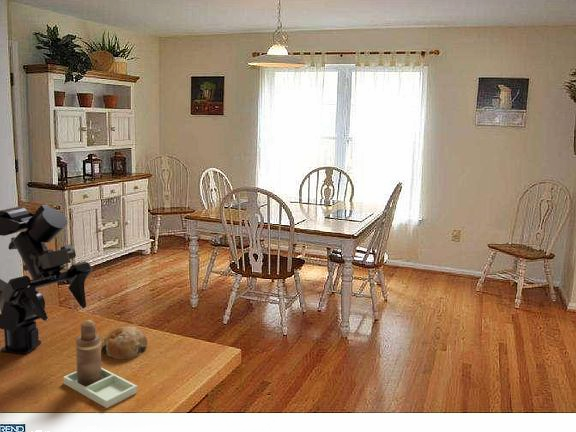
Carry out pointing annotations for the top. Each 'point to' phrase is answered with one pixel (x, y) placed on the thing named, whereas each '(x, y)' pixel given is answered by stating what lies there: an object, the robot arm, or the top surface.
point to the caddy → (103, 388)
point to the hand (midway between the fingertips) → (66, 313)
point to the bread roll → (124, 343)
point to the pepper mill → (88, 354)
